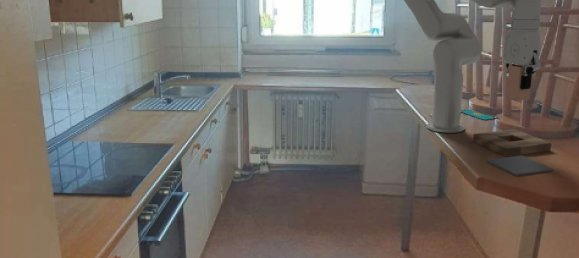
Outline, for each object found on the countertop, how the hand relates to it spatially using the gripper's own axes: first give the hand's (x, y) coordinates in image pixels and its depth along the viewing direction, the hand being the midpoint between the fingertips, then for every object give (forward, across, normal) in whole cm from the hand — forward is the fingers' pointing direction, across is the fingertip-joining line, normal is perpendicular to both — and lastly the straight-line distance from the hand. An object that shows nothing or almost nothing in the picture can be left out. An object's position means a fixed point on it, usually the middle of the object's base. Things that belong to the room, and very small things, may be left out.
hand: (519, 86), depth 150 cm
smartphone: (+20, -38, +16) cm, 46 cm away
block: (+4, 0, 0) cm, 4 cm away
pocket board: (+20, -3, +1) cm, 20 cm away
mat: (+20, +13, -9) cm, 25 cm away
